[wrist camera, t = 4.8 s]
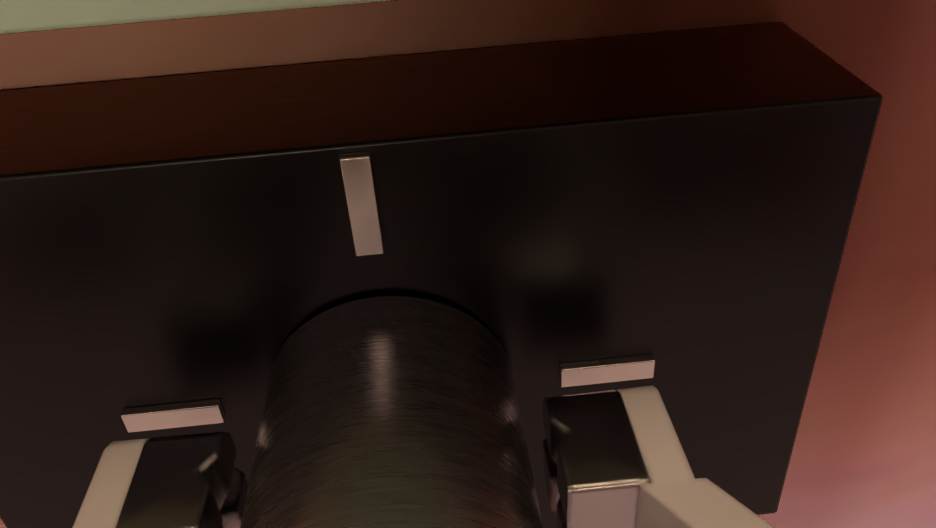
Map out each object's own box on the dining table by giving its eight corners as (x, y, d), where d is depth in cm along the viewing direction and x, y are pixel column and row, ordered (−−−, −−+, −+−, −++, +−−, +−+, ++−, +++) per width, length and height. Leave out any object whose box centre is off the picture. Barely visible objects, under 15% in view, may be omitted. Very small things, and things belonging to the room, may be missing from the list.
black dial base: (783, 20, 12) (893, 100, 9) (719, 397, 17) (781, 521, 14) (-78, 96, 12) (-214, 202, 9) (100, 462, 16) (44, 603, 13)
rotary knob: (243, 307, 10) (168, 603, 7) (510, 280, 11) (571, 558, 7) (293, 485, 12) (256, 782, 9) (516, 461, 13) (566, 745, 9)
